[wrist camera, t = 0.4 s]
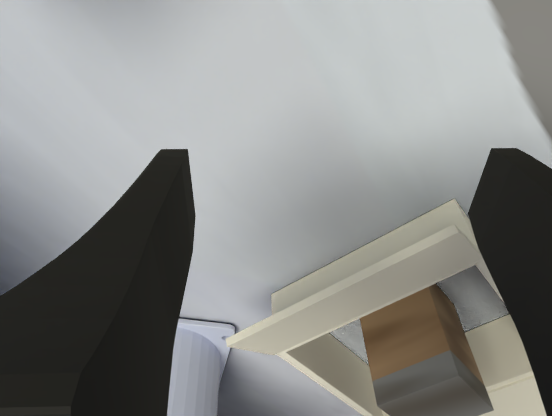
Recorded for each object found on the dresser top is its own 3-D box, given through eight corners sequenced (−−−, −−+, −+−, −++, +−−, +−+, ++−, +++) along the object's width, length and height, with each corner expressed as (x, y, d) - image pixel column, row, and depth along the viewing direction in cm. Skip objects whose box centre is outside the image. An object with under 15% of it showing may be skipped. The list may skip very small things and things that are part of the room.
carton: (550, 336, 34) (592, 414, 30) (396, 395, 38) (413, 470, 34) (420, 150, 23) (457, 230, 19) (229, 260, 28) (225, 345, 24)
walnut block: (453, 304, 31) (494, 410, 26) (391, 331, 33) (417, 436, 28) (421, 267, 29) (458, 375, 24) (356, 298, 31) (376, 406, 25)
